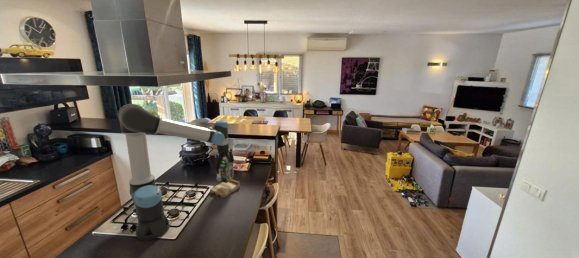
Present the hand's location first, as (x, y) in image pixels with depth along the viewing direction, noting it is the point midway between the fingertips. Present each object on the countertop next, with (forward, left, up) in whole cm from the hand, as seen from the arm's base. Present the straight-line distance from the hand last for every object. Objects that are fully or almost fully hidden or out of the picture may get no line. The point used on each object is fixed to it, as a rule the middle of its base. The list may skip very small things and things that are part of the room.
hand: (224, 174), depth 156 cm
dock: (0, 0, -12) cm, 12 cm away
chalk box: (0, 0, -4) cm, 4 cm away
